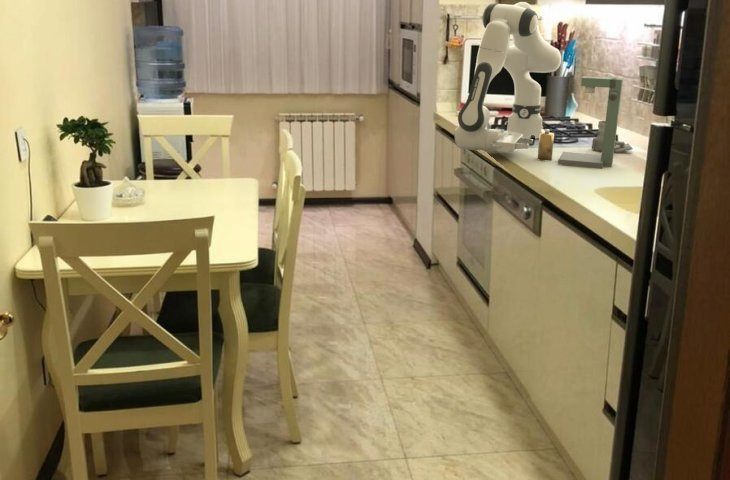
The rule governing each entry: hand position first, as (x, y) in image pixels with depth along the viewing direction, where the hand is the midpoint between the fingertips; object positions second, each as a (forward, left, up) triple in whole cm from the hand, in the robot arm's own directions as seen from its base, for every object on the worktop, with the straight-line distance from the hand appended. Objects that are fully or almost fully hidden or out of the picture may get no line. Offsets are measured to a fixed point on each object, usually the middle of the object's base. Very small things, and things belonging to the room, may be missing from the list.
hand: (530, 143), depth 290 cm
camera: (-26, +29, -6) cm, 39 cm away
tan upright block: (0, +6, -6) cm, 8 cm away
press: (+3, +21, -5) cm, 22 cm away
